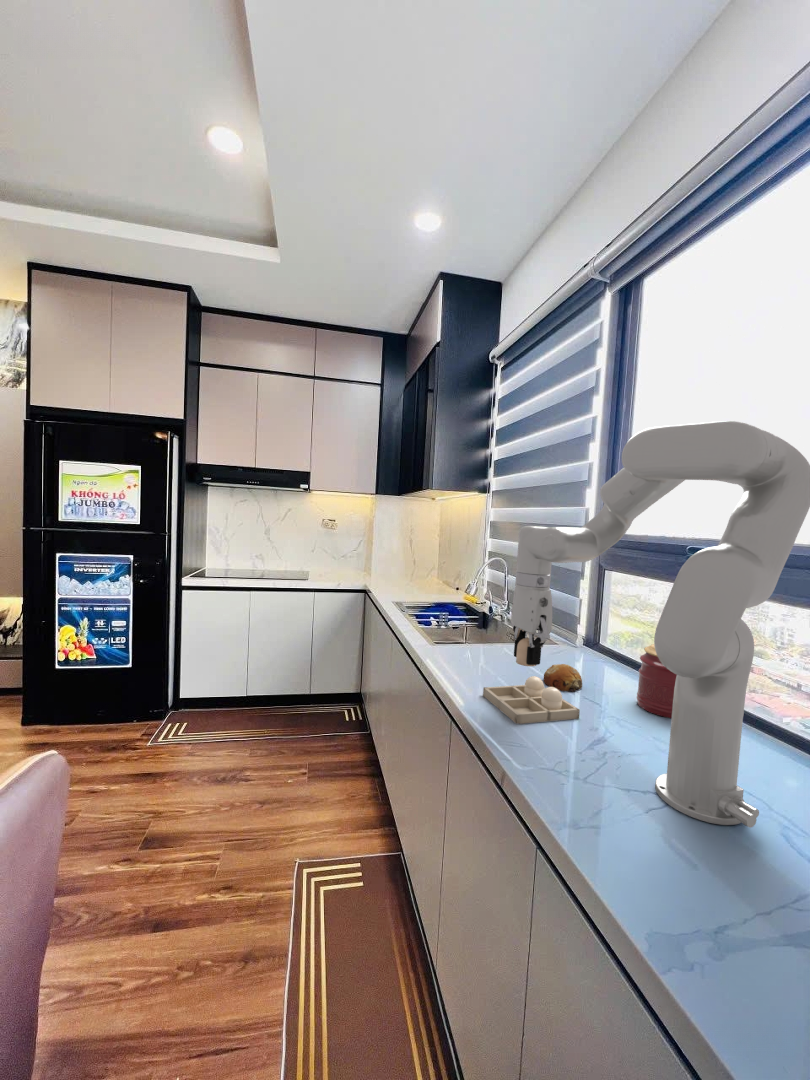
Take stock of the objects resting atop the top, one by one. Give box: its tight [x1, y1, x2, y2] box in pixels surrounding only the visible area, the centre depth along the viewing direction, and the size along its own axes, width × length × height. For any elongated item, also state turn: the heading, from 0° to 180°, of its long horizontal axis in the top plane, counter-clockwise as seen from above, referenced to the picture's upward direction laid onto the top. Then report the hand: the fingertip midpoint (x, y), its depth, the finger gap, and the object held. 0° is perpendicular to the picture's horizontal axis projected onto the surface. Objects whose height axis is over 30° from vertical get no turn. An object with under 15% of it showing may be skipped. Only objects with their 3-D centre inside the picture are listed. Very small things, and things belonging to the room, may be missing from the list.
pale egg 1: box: [524, 675, 545, 697], centre depth 113 cm, size 5×5×6 cm
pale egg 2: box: [541, 686, 563, 710], centre depth 107 cm, size 5×5×6 cm
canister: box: [636, 643, 677, 719], centre depth 113 cm, size 13×13×18 cm
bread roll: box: [543, 663, 583, 693], centre depth 126 cm, size 10×10×8 cm
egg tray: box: [482, 684, 581, 725], centre depth 109 cm, size 16×16×3 cm
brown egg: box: [515, 637, 537, 667], centre depth 104 cm, size 5×5×6 cm
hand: (526, 659), depth 104 cm, fingers closed on brown egg, 4 cm apart
